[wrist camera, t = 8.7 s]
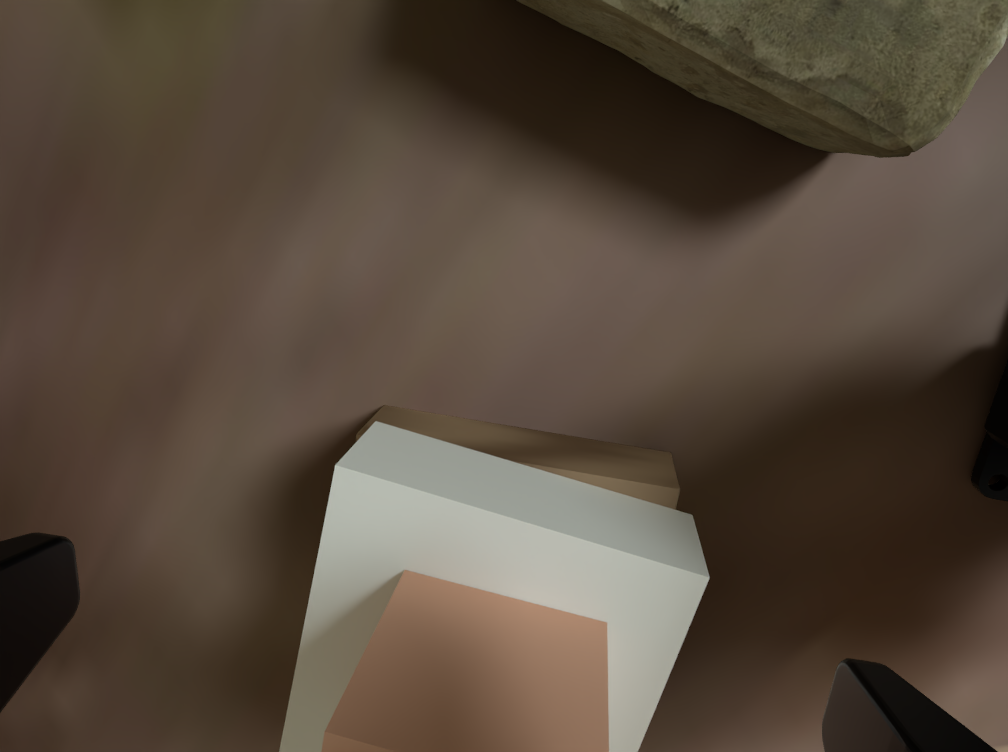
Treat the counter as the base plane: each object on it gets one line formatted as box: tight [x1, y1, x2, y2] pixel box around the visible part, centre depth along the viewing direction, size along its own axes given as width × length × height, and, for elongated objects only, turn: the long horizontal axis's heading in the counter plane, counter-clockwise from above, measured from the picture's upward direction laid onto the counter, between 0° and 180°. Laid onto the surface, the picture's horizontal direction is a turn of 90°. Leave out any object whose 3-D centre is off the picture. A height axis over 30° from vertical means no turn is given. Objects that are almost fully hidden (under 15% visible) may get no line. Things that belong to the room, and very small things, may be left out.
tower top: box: [279, 421, 710, 752], centre depth 18 cm, size 9×9×3 cm
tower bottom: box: [356, 405, 680, 510], centre depth 21 cm, size 9×9×3 cm
